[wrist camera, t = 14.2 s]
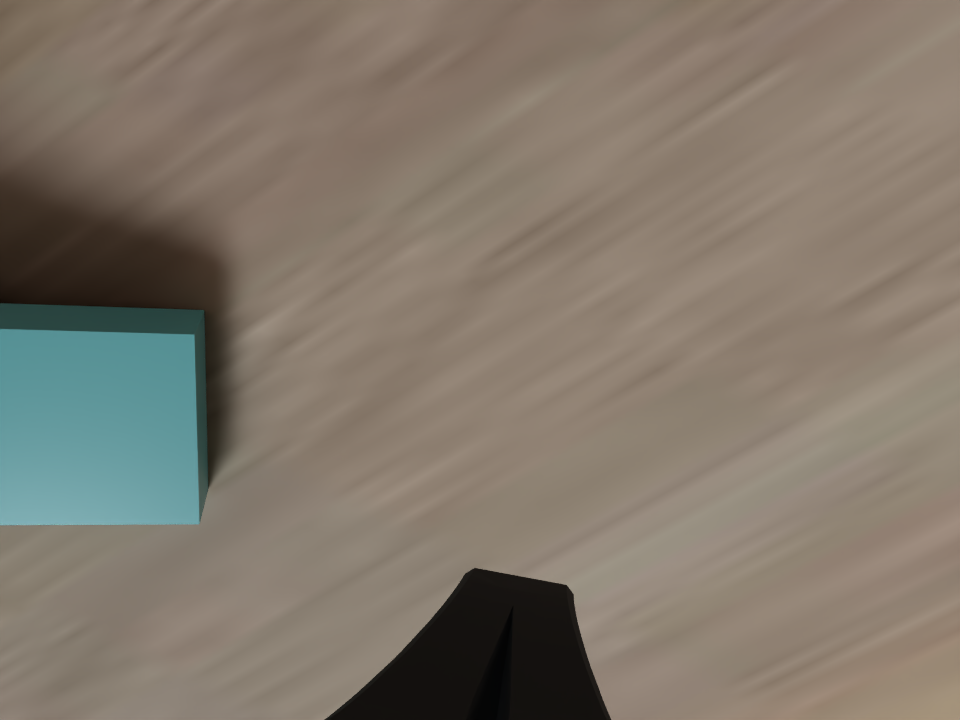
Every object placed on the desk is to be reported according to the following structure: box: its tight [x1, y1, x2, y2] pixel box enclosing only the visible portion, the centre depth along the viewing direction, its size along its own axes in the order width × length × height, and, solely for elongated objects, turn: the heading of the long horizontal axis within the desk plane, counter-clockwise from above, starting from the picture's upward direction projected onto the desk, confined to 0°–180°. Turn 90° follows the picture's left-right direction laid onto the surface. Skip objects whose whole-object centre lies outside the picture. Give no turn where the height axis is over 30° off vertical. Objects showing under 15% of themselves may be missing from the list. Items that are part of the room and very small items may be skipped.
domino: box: [0, 303, 208, 525], centre depth 22 cm, size 2×5×9 cm
